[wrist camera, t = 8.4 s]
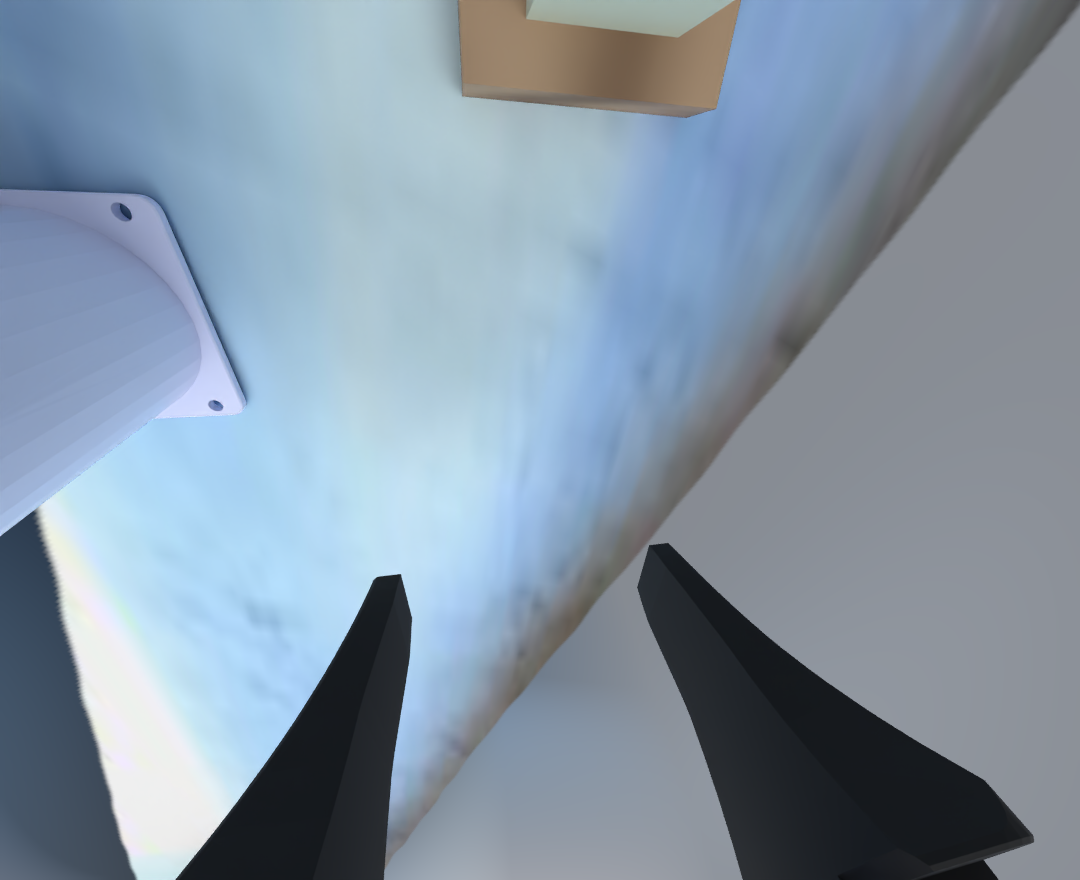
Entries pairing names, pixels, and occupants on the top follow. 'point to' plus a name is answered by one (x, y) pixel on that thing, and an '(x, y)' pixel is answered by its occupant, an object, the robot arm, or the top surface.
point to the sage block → (627, 14)
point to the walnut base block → (591, 61)
